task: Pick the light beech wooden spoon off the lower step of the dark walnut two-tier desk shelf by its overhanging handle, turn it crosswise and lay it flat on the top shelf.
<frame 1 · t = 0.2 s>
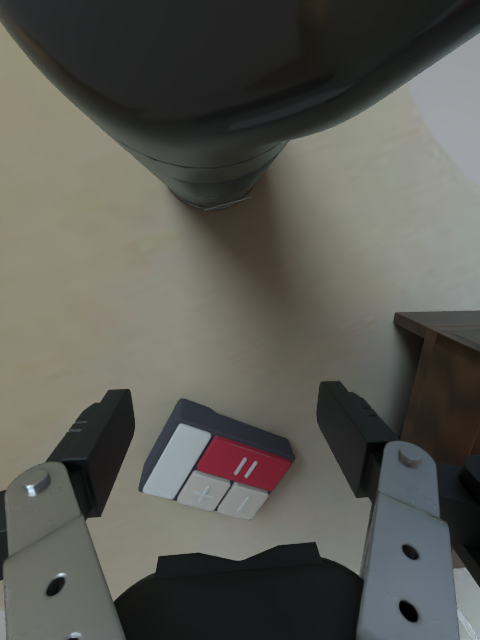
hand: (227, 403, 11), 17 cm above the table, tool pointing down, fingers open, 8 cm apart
shelf: (455, 386, 34), on the table
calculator: (217, 450, 34), on the table
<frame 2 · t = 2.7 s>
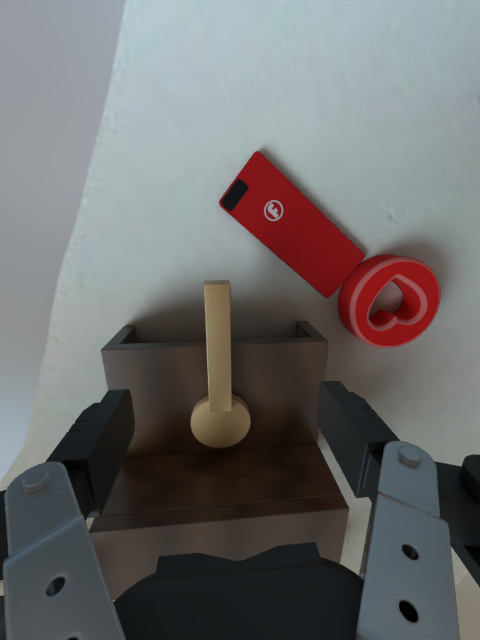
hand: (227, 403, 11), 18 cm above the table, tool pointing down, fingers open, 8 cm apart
shelf: (219, 398, 32), on the table
electronic device: (293, 231, 27), on the table
spoon: (219, 375, 24), point 6 cm above the table, touching shelf
decorative ornament: (378, 298, 30), on the table
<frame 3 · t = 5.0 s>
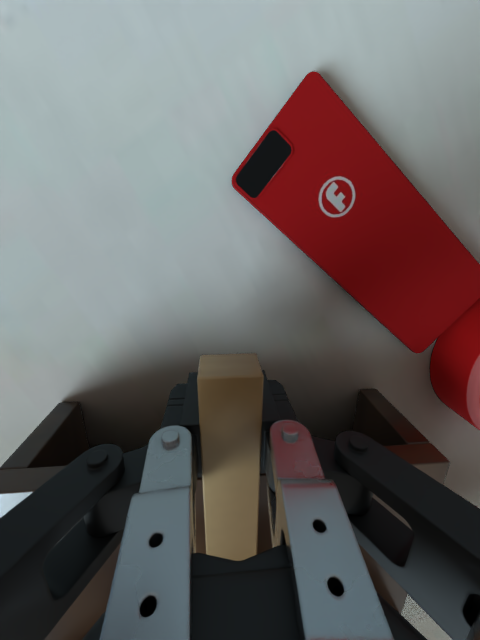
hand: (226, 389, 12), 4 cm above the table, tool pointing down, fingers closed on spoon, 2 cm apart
shelf: (226, 504, 20), on the table
electronic device: (368, 237, 15), on the table
spoon: (230, 527, 12), point 6 cm above the table, touching gripper, shelf
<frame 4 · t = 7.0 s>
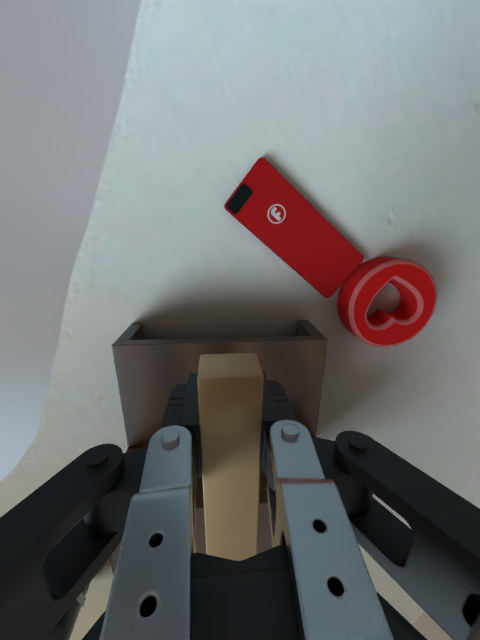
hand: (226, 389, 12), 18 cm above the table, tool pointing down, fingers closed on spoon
shelf: (223, 393, 34), on the table
electronic device: (295, 233, 28), on the table
spoon: (230, 527, 12), point 20 cm above the table, touching gripper
decorative ornament: (376, 298, 31), on the table
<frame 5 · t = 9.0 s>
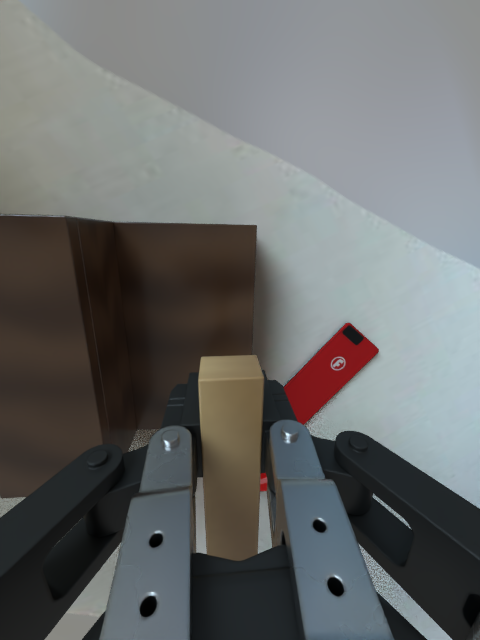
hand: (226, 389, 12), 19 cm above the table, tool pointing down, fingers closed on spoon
shelf: (162, 318, 30), on the table
electronic device: (319, 377, 34), on the table
spoon: (230, 528, 12), point 21 cm above the table, touching gripper
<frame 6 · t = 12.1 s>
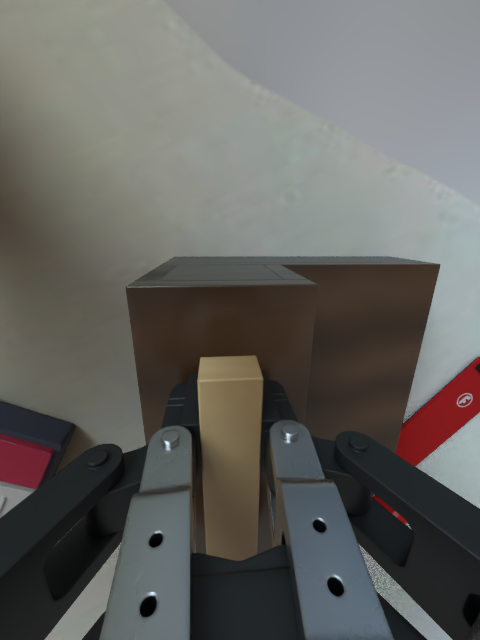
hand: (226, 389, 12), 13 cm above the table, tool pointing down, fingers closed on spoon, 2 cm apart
shelf: (281, 358, 27), on the table
electronic device: (439, 414, 31), on the table
spoon: (230, 528, 12), point 15 cm above the table, touching gripper
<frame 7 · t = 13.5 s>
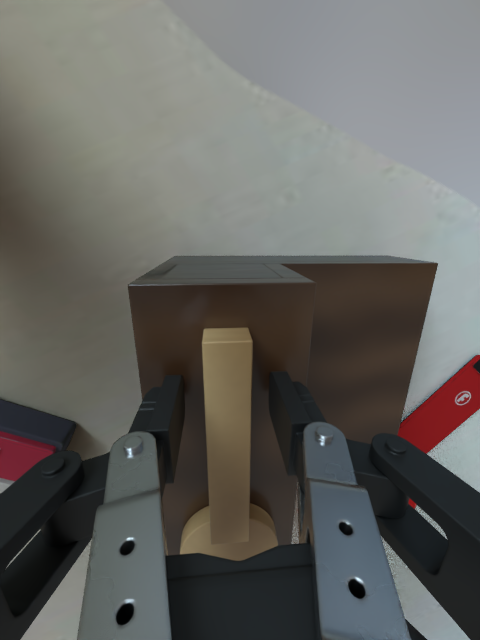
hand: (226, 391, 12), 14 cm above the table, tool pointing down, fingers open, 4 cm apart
shelf: (281, 356, 27), on the table
electronic device: (437, 412, 31), on the table
spoon: (228, 477, 15), point 13 cm above the table, touching shelf
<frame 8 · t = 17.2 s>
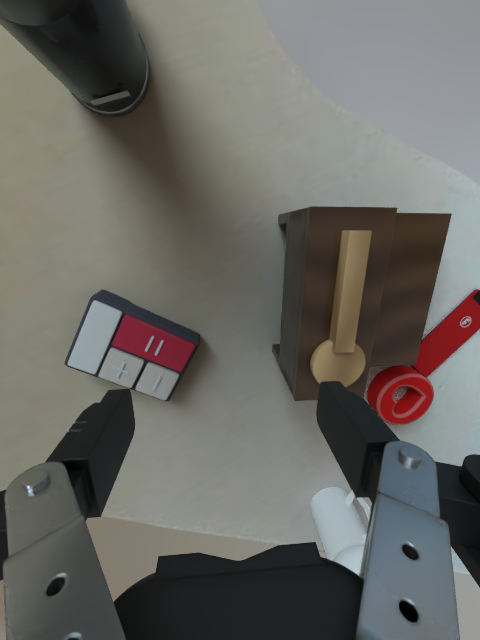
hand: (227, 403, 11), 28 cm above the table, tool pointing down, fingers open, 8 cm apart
shelf: (341, 287, 40), on the table
electronic device: (447, 334, 44), on the table
spoon: (340, 321, 27), point 13 cm above the table, touching shelf
decorative ornament: (393, 389, 47), on the table
cup: (333, 494, 53), on the table
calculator: (139, 343, 40), on the table
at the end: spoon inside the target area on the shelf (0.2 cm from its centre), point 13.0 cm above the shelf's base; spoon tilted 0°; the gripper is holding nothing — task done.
